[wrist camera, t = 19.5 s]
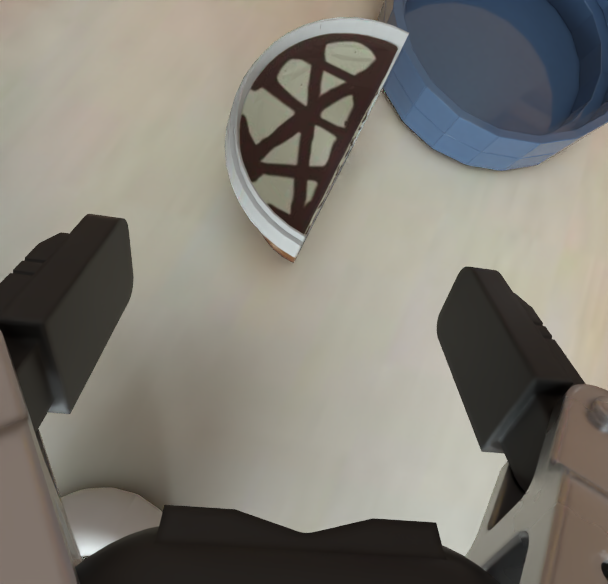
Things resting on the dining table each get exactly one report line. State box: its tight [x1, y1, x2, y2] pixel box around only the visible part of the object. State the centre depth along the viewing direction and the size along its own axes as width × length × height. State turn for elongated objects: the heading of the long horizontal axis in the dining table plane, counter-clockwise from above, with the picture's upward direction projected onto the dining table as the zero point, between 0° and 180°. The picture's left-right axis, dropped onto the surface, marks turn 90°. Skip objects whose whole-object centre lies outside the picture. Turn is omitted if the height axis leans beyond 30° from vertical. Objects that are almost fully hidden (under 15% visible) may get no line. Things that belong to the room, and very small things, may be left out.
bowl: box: [378, 0, 608, 171], centre depth 29 cm, size 18×18×4 cm
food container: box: [225, 17, 409, 263], centre depth 23 cm, size 12×6×10 cm, turn 154°
